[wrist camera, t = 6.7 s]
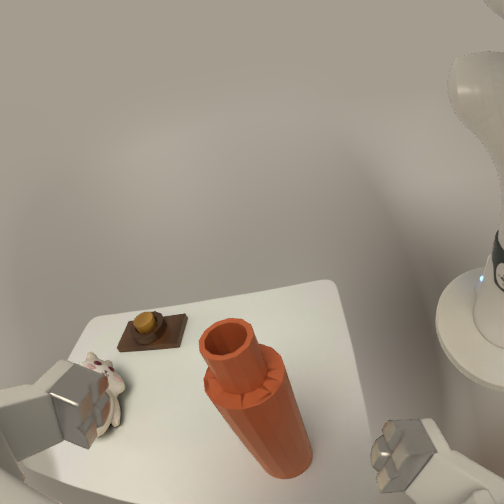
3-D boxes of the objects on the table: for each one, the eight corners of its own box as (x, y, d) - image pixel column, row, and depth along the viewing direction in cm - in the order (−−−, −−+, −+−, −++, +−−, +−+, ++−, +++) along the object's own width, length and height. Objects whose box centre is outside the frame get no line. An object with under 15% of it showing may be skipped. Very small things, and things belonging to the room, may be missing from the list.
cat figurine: (63, 417, 30) (81, 332, 42) (50, 430, 33) (66, 354, 45) (127, 439, 35) (132, 357, 47) (106, 450, 38) (112, 375, 50)
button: (158, 317, 55) (154, 310, 55) (153, 332, 52) (148, 325, 51) (141, 319, 56) (137, 313, 55) (134, 334, 53) (130, 327, 52)
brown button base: (187, 317, 57) (181, 306, 56) (179, 347, 51) (172, 335, 50) (131, 325, 60) (124, 314, 58) (119, 352, 53) (111, 341, 52)
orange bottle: (304, 429, 33) (260, 295, 22) (318, 469, 28) (282, 357, 17) (257, 443, 33) (181, 321, 22) (267, 484, 28) (183, 386, 17)
